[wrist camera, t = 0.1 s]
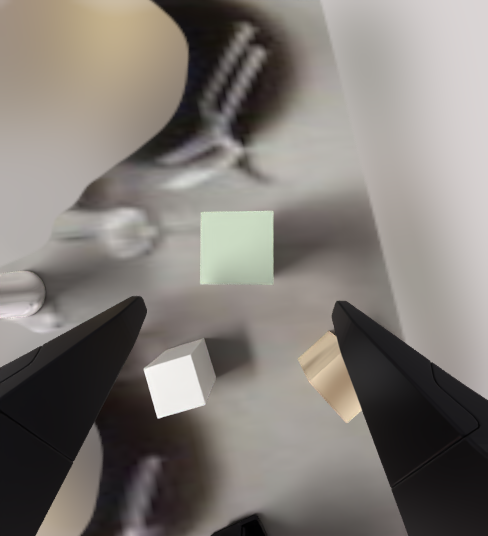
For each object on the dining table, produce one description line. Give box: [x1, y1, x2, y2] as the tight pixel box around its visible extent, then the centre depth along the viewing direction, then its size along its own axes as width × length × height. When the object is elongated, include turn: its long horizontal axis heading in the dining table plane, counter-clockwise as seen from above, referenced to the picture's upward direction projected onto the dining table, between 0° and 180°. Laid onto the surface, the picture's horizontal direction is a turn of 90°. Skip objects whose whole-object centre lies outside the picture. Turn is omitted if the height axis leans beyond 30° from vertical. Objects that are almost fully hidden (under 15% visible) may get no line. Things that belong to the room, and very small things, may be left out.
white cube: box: [144, 338, 216, 418], centre depth 22 cm, size 5×5×5 cm
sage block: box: [200, 211, 273, 285], centre depth 18 cm, size 4×4×12 cm
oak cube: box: [298, 331, 362, 423], centre depth 20 cm, size 5×5×5 cm
